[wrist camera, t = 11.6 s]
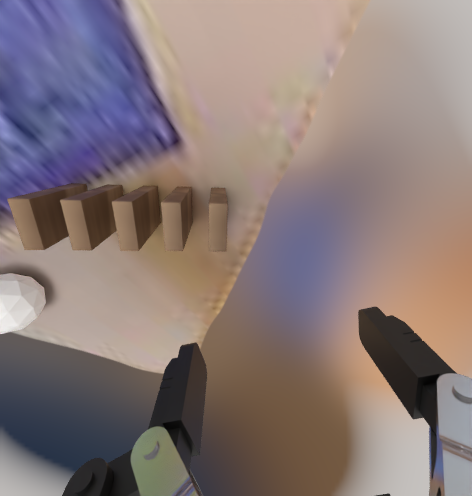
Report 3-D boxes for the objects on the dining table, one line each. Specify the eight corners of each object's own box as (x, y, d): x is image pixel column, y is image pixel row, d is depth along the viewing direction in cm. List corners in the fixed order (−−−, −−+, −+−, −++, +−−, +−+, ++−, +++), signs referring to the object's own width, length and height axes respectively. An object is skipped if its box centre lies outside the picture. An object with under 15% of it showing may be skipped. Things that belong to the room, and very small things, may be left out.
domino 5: (211, 223, 34) (209, 251, 24) (211, 187, 32) (208, 203, 22) (224, 223, 34) (226, 251, 24) (224, 188, 32) (227, 204, 23)
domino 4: (179, 222, 33) (165, 250, 24) (177, 186, 31) (161, 202, 22) (192, 222, 33) (182, 251, 24) (191, 187, 31) (180, 202, 22)
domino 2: (114, 221, 32) (72, 250, 23) (107, 184, 30) (60, 200, 21) (127, 221, 33) (91, 250, 23) (122, 184, 31) (80, 200, 21)
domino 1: (80, 220, 32) (24, 249, 23) (71, 183, 30) (7, 198, 21) (93, 221, 32) (44, 249, 23) (86, 183, 30) (28, 199, 21)
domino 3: (147, 222, 33) (120, 250, 24) (143, 185, 31) (111, 201, 22) (160, 222, 33) (138, 250, 24) (157, 186, 31) (131, 201, 22)
